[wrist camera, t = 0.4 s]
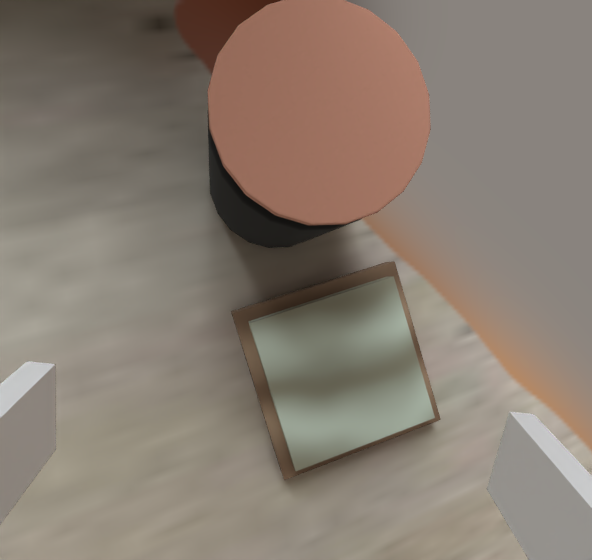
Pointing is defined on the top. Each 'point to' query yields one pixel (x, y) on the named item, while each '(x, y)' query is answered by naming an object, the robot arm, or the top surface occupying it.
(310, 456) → the plinth
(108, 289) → the top surface
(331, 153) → the coffee jar
